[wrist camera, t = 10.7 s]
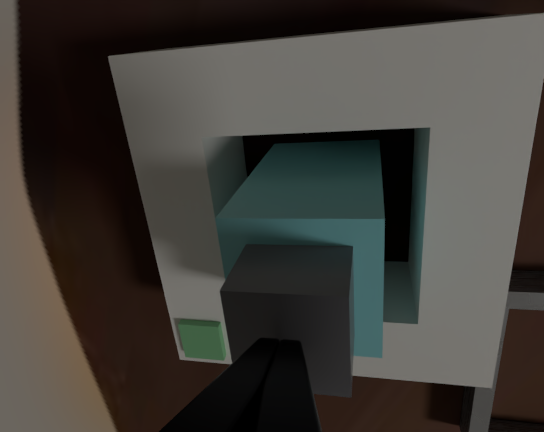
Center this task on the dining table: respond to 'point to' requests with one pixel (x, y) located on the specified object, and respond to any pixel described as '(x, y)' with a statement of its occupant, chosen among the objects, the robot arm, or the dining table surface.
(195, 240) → the frame
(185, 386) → the dining table surface
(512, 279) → the open square ring
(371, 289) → the plug
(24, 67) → the dining table surface
